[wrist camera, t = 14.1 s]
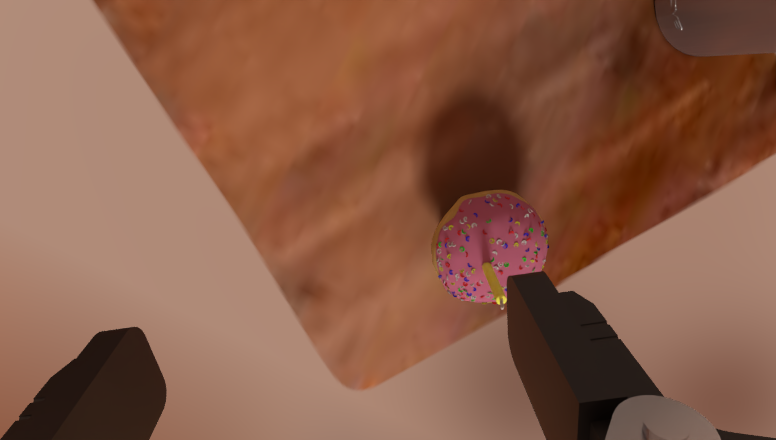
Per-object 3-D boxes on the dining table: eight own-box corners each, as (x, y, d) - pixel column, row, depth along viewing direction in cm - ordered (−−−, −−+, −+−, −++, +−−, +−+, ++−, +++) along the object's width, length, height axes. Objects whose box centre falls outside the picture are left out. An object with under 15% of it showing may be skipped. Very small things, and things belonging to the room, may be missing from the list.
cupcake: (446, 295, 40) (498, 380, 29) (400, 211, 38) (437, 268, 26) (536, 245, 40) (623, 312, 29) (496, 157, 37) (575, 192, 26)
